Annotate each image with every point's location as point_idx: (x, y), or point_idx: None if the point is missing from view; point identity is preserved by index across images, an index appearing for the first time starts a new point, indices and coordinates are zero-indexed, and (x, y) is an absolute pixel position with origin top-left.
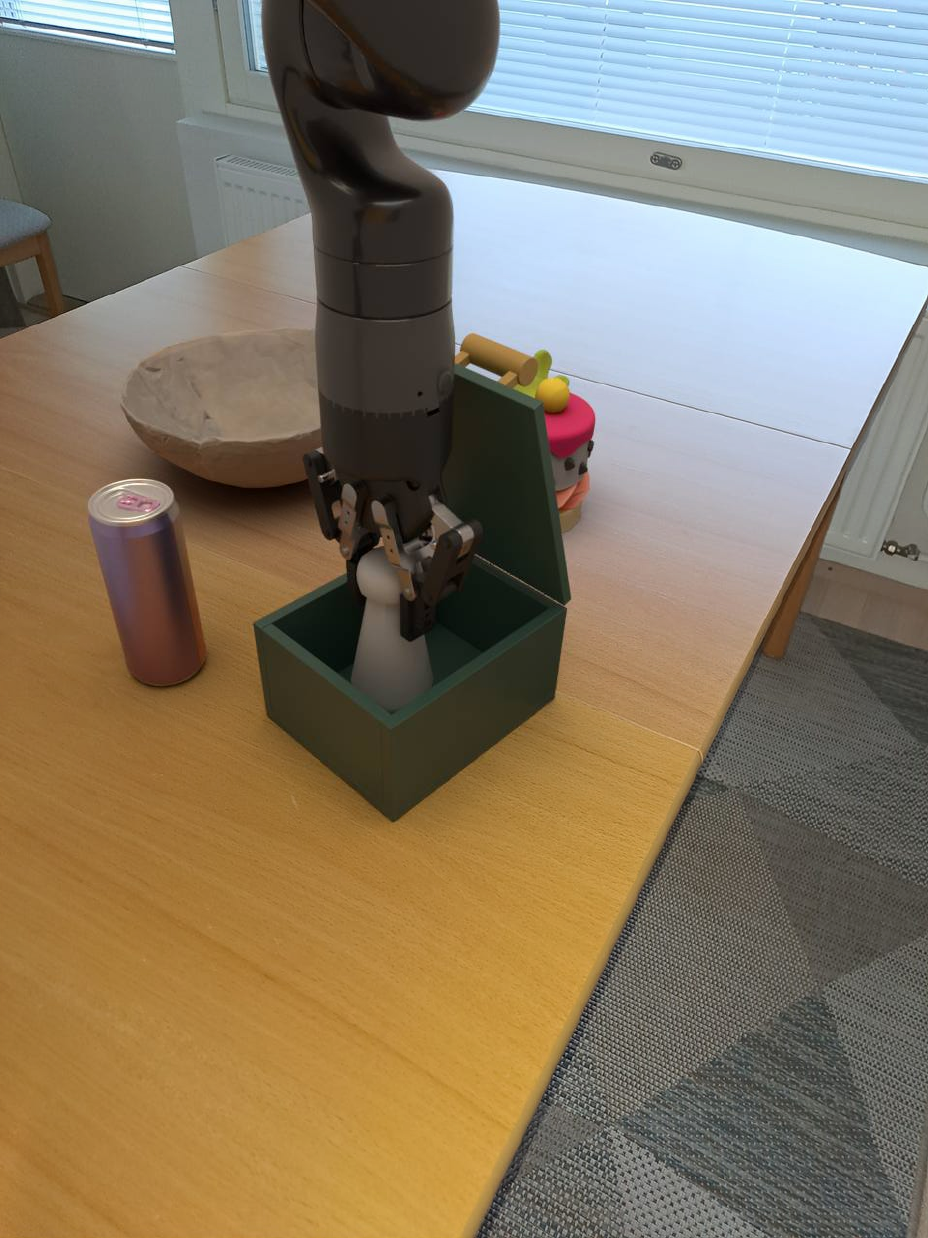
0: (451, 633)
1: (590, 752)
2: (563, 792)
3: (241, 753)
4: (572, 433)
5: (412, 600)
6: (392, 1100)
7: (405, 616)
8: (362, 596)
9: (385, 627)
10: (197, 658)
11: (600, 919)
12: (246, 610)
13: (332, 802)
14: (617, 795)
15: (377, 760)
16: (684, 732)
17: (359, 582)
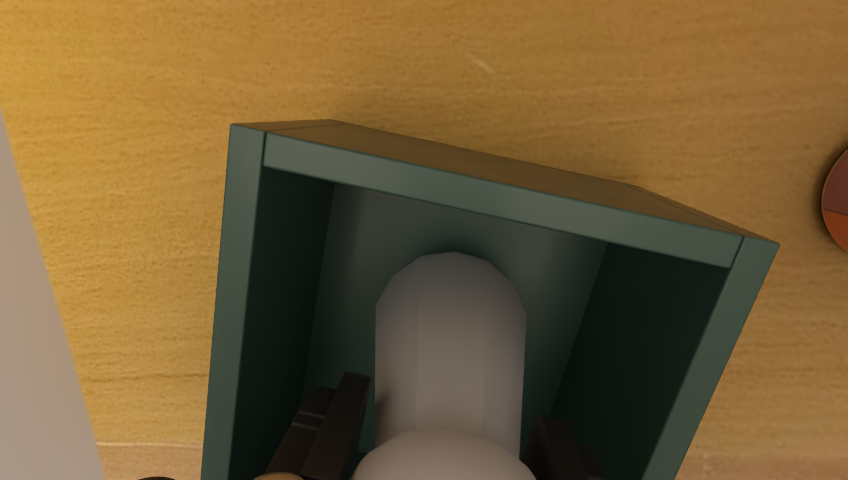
0: None
1: (191, 374)
2: (177, 297)
3: (624, 95)
4: None
5: (260, 476)
6: None
7: (331, 422)
8: (538, 446)
9: (415, 380)
10: (842, 208)
11: (22, 143)
12: (828, 367)
13: (429, 98)
14: (123, 329)
15: (326, 129)
16: (121, 460)
17: (502, 472)
